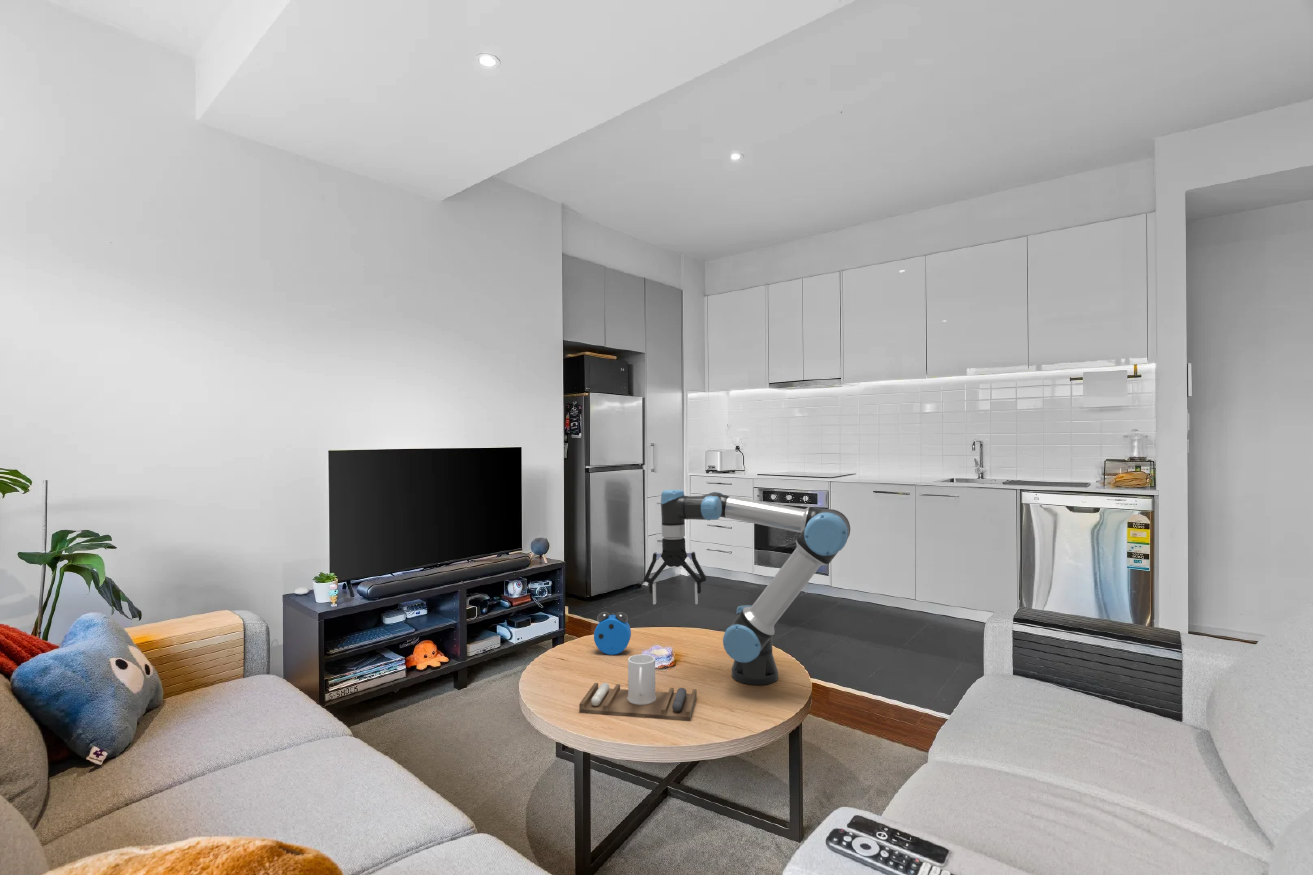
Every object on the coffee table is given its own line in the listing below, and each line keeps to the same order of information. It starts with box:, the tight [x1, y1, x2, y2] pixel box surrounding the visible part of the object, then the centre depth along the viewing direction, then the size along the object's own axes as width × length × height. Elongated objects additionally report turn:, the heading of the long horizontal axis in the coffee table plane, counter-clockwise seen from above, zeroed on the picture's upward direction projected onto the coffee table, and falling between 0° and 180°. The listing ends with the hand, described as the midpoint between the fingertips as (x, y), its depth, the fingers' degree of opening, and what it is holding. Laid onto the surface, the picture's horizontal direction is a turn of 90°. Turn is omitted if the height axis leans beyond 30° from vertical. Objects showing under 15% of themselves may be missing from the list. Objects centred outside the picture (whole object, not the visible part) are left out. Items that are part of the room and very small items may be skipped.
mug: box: [627, 653, 656, 705], centre depth 184 cm, size 12×8×12 cm
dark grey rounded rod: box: [672, 687, 688, 712], centre depth 182 cm, size 3×13×3 cm, turn 170°
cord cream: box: [591, 682, 610, 706], centre depth 186 cm, size 3×13×3 cm, turn 170°
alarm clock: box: [593, 611, 632, 656], centre depth 230 cm, size 13×6×15 cm, turn 85°
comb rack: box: [578, 682, 698, 722], centre depth 184 cm, size 32×16×2 cm, turn 80°
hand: (675, 603), depth 202 cm, fingers open, 13 cm apart
